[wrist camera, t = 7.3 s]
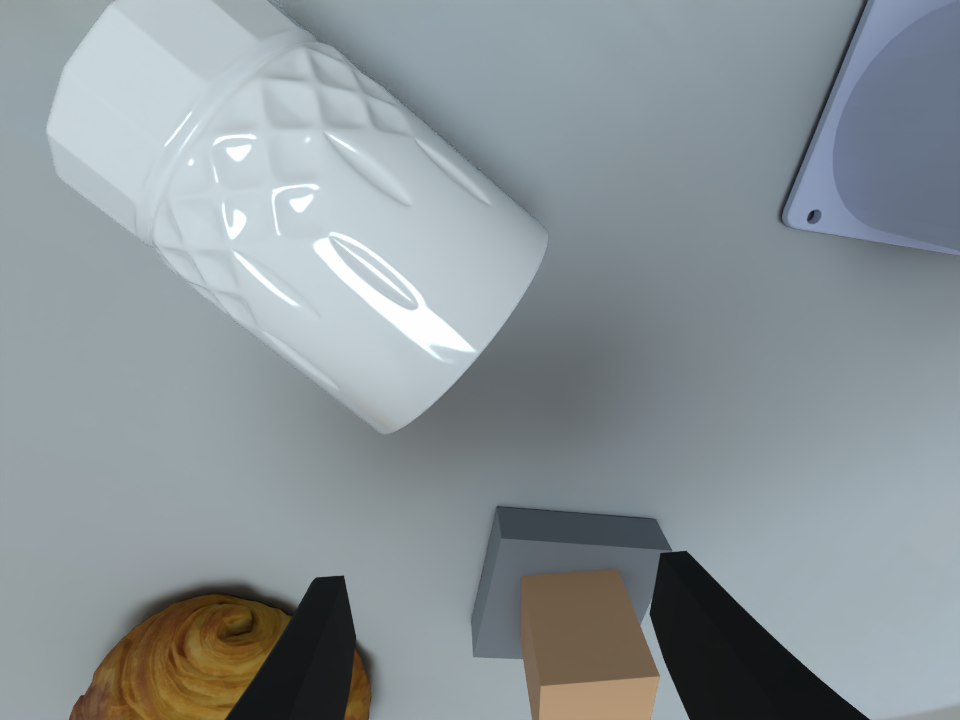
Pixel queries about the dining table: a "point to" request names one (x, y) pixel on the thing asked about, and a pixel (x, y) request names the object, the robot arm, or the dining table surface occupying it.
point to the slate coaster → (557, 565)
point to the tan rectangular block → (584, 649)
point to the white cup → (294, 197)
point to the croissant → (194, 664)
